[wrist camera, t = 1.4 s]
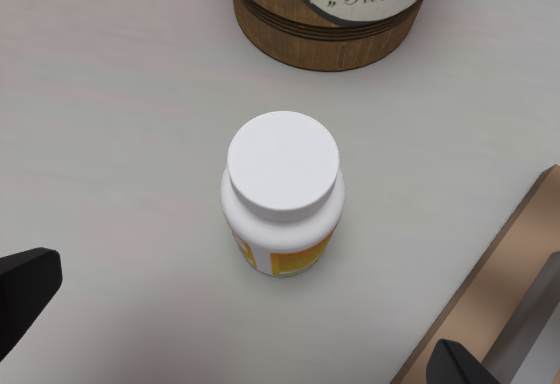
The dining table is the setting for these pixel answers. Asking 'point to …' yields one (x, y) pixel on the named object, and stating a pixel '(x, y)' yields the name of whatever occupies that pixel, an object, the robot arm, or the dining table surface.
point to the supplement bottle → (282, 191)
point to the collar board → (508, 298)
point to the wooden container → (326, 30)
